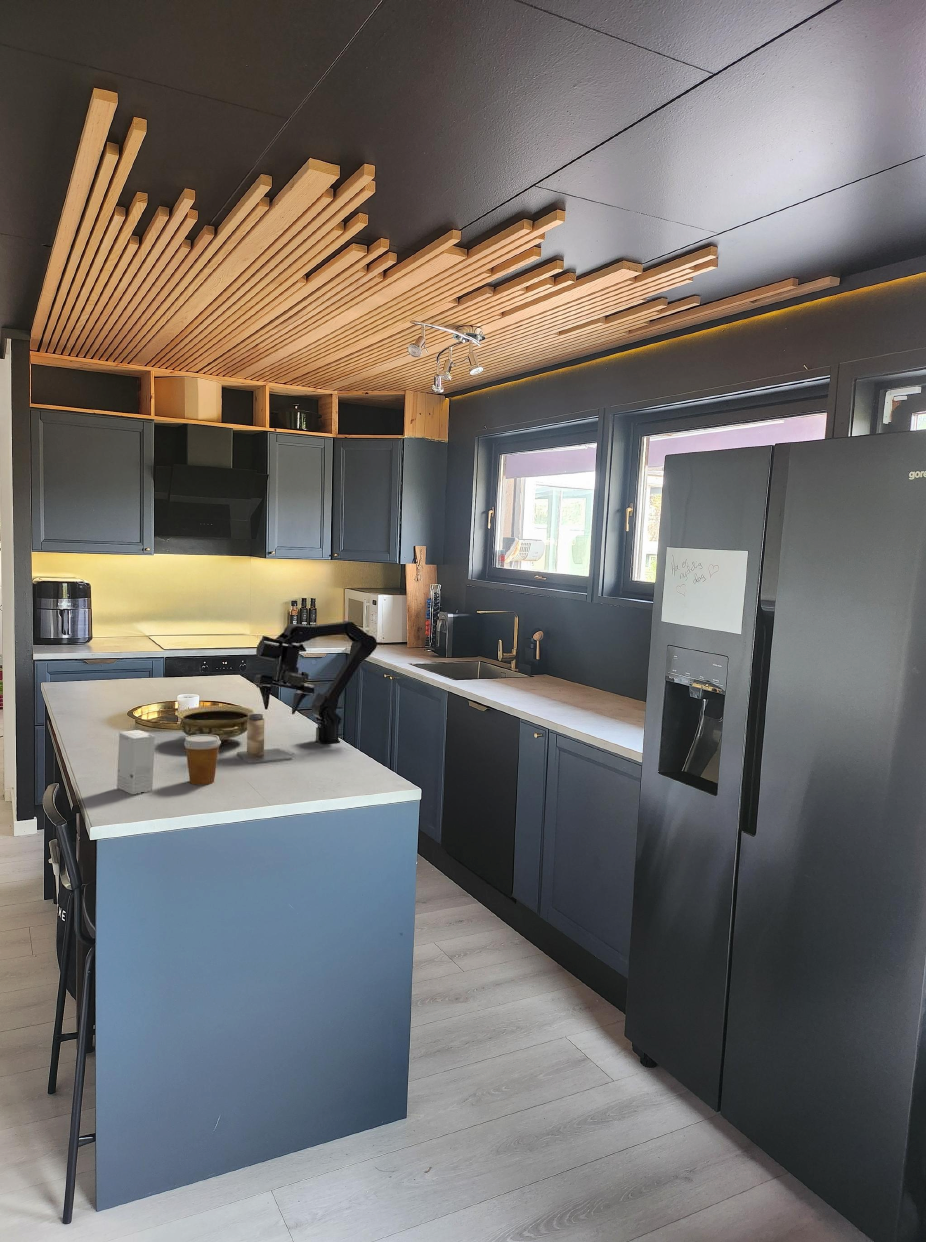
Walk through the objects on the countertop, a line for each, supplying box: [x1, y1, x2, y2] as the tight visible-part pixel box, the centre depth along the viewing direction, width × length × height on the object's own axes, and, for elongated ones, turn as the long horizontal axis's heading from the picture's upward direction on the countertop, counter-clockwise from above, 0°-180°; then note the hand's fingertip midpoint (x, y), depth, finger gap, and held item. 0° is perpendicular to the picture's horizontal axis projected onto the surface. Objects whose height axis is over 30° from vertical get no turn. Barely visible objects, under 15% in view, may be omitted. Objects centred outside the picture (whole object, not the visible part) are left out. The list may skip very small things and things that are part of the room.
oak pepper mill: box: [246, 713, 265, 758], centre depth 252 cm, size 5×5×12 cm
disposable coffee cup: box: [183, 734, 221, 786], centre depth 225 cm, size 10×10×12 cm
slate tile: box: [236, 747, 293, 765], centre depth 254 cm, size 13×13×1 cm
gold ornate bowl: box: [176, 705, 255, 746], centre depth 269 cm, size 30×24×10 cm
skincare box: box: [116, 729, 156, 795], centre depth 215 cm, size 8×6×15 cm
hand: (279, 711), depth 263 cm, fingers open, 9 cm apart
